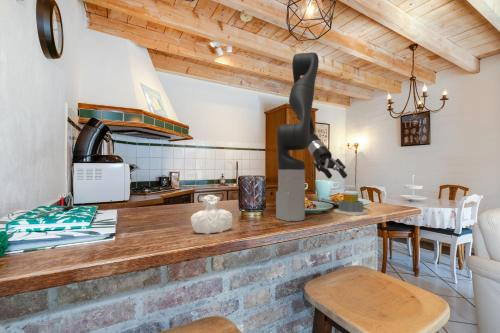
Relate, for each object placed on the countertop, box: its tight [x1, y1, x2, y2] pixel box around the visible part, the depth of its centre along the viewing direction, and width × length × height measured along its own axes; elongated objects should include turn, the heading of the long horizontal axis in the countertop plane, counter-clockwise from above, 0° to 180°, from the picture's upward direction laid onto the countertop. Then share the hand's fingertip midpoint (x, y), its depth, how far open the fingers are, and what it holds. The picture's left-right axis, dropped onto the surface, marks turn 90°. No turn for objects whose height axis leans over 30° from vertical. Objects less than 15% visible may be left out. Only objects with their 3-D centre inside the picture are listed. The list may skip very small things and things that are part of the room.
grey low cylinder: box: [333, 199, 369, 217], centre depth 94 cm, size 9×9×4 cm
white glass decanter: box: [189, 194, 233, 235], centre depth 68 cm, size 12×8×11 cm
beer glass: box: [342, 184, 359, 203], centre depth 95 cm, size 5×5×10 cm
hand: (338, 177), depth 100 cm, fingers open, 8 cm apart
